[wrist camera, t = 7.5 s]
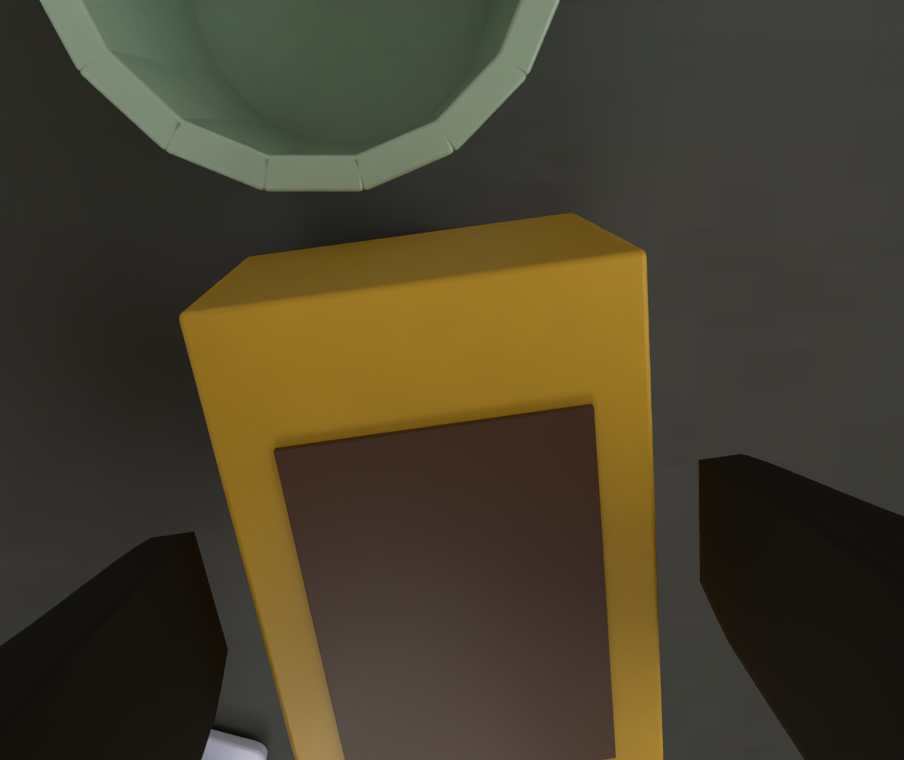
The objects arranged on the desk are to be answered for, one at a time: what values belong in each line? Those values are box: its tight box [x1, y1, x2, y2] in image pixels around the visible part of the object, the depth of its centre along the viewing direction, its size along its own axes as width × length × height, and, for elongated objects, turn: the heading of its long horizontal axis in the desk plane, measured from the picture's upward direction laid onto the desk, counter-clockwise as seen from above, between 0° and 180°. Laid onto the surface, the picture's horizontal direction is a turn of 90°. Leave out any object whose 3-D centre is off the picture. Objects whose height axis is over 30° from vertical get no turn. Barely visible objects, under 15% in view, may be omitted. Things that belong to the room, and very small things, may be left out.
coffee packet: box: [179, 213, 663, 760], centre depth 11 cm, size 8×5×4 cm, turn 7°
